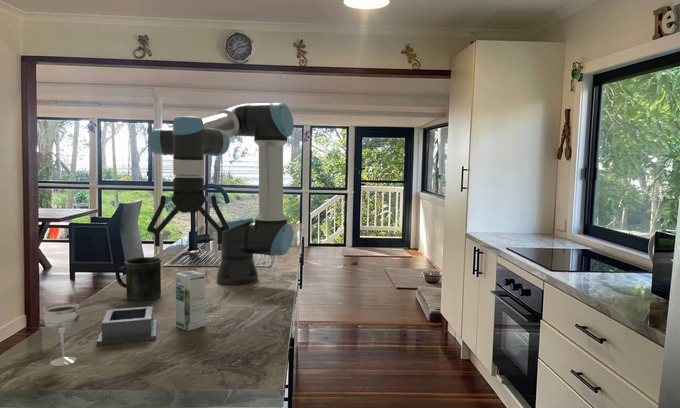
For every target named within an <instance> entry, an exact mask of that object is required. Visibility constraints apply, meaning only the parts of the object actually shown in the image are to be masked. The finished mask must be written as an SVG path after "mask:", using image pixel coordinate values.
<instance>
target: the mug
mask: <svg viewBox="0 0 680 408" xmlns="http://www.w3.org/2000/svg"><path fill="white" fill-rule="evenodd" d="M162 261H163V260H160V257H151V256H149V257H148V256H147V257H146V256H143V257H135V258H134V257H133V258H129V259H126V260H124V262H123V263H124V264H125V265H124V266H123V265H122V266H119V267H117V269H116V270H115V279H116V281H117V283H118V285H119V286H120V287H122V288H125V289H126V291H125V292H126V298H127V299H128V300H130V301H137V302H138V301H149V300H155V299H157V298H159V297H160V296H161V294H162V277H161V276H162V272H161V271H162V270H161V263H162ZM122 270H125V282H124V281H123V280H122V277H121V275H120V274H121V273H120V271H122Z"/></svg>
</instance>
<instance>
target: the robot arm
mask: <svg viewBox="0 0 680 408" xmlns="http://www.w3.org/2000/svg"><path fill="white" fill-rule="evenodd" d="M294 125H295V124H294V119H293V115H292V112H291V109H290V108H289V107H288V106H287V105H286V104H285V103H284V102H259V103H258V102H257V103H256V102H255V103H243V104H239V105H235V106H232V107H231V106H230V107H228V108H226V109H222V110H220V111H217V113H216V114H215V115H212V116H208V117H205V118H202V117H199V116H190V115H189V116H188V115H184V116H183V115H181V116H179V115H178V116H175V117H174V118H173V123H172V126H171V127H168V128H167V127H166V128H164V127H161V128H155V129H152V130H151V132H150V133H149V134H148V144H149V145H148V146H149V149H150V150H151V152H152V153H153V154H156V155H159V156H160V155H161V156H172V169H173V170H172V174H173V176H175V177H174V178H173V179H172V180H173V182H172V183H173V185H172V186H173V187H172V189H173V193H172V196H168V195H164V194H162V195H161V196H160V201H159V205H158V207H157V209H156V211H155V213H154V215H153V217H152V219H151V220H150V223H149V225H148V226H147V229H146V230H147V232H149V233H152V234H153V235H154V246H155V247H159V258H160V260H162V261H163V260H164V233H163V232H162V231H163V230H164V229H165V228H166V226H167V225H168V224H169V223H170V222H171V221H172V220H173V218H174V217H175V216H176V215H178V213H179V212H180V213H182V214H185V213H193V214H195V213H197V212H198V211H199V213H200V214H201V215H202V216H203V217H204V218H205V219H206V220H207V221H208V223H209V224H210V225H211V226H212V227H213V229H215V231H213V256H214V258H219V257H218V250H219V249H218V248H219V245H220V253H221V254H220V255H221V257H220V258H221V260H220V264H219V266H218V270H217V273H216V282H217V283H218V284H221V285H225V286H226V285H227V286H228V285H229V286H239V285H240V286H241V285H242V286H243V285H249V284H253V283H256V282H257V281H259V273H258V269H257V267H256V263H255V261H254V255H265V256H273V257H274V256H285V255H286V254H287V253H288V252H289V250H290V248H291V247H292V244H293V241H294V227H293V225H292V224H290V222H288V216H286V215H285V213H284V146H285V145H286V144H287V143H288V138H289V137H291V136H292V135H293V133H294V127H295V126H294ZM233 137H252V138H253V137H254V138H253V139H254V140H253V141H254V143H255V144H256V145H257V146H258V214H257V215H256V216H255V218H253V217H239V218H233V219H227V220H226V219H225V217H224V214H223V213H222V211H221V209H220V206H219V205H218V204H217V202H218V201H217V196H216V195H214V194H212V195H210V196H209V195H207V196H205V194H204V193H205V190H204V186H205V185H204V184H205V183H204V181H205V179H204V178H203V176H204V175H205V174H204V169H205V168H204V167H205V166H204V156H213V157H217V156H222V155H225V154H226V153H227V152H228V150H229V148H230V142H231V141H230V138H233ZM169 202H172V204H173V205H174V206H175V207H174V208H173V209H172V210H171V211H170V212H169V213H168V214H167V216H166V217H165V218H164V219H163V220H162V222H160V224H159V225H158V226H157V227H155V226H156V223H157V221H158V220H159V217H160V216H161V214H162V212H163V210H164V208H165V205H168V204H169ZM205 202H208V204H209V205H211V206H212V209H213V210H214V212H215V213H216V216H217V217H218V219H219V222H220V223H221V226H220V225H219V224H218V223H217V222H216V221H215V219H214V218H212V217H211V215H209V213H208V212H207V210H205V208H203V207H204V206H203V205H204V204H205Z"/></svg>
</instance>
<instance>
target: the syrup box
mask: <svg viewBox="0 0 680 408" xmlns="http://www.w3.org/2000/svg"><path fill="white" fill-rule="evenodd" d="M205 326H206V273H203V272H198V271H196V270H185V271H180V272H177V273H175V327H176V328H179V329H182V330H184V331H186V332H190V331H193V330H195V329H200V328H202V327H203V328H204V327H205Z"/></svg>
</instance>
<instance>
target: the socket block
mask: <svg viewBox="0 0 680 408" xmlns="http://www.w3.org/2000/svg"><path fill="white" fill-rule="evenodd" d="M100 326H101V330H100V333H99V335H98V337H97V339H96V346H105V345H106V346H107V345H116V344H126V343H127V344H128V343H135V342H147V341H156V338H157V329H158V319H157V318H155V319H154V306H152V305H151V306H140V307H127V308H125V307H124V308H112V309H107V310H106V313H105V314H104V317H103V319H102V321H101V325H100Z"/></svg>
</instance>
